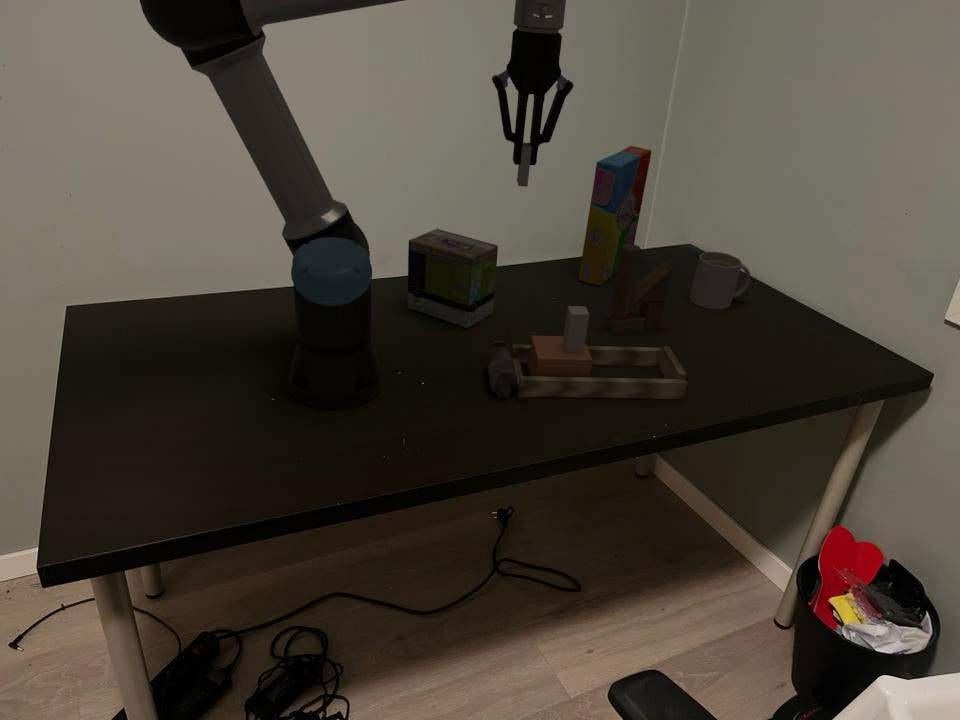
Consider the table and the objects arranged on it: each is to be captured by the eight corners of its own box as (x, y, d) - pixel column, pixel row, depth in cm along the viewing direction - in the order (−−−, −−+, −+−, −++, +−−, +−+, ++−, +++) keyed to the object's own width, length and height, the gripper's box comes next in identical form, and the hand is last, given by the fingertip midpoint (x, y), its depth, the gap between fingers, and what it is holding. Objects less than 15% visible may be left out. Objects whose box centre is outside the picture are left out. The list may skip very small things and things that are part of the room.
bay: (490, 400, 117) (492, 374, 114) (484, 363, 127) (486, 338, 125) (682, 403, 120) (689, 378, 117) (661, 366, 130) (667, 343, 128)
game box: (599, 287, 160) (619, 166, 146) (577, 281, 162) (595, 161, 149) (631, 260, 176) (652, 149, 162) (610, 254, 178) (629, 144, 165)
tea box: (494, 313, 145) (500, 244, 138) (467, 330, 138) (471, 259, 130) (434, 292, 152) (437, 226, 144) (405, 308, 144) (406, 239, 137)
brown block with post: (534, 390, 118) (543, 321, 112) (527, 364, 126) (535, 297, 119) (587, 391, 119) (599, 322, 113) (577, 365, 127) (587, 299, 120)
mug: (684, 302, 156) (694, 259, 151) (697, 288, 163) (707, 247, 158) (733, 316, 151) (745, 273, 146) (744, 301, 159) (756, 259, 154)
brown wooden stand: (659, 333, 142) (678, 248, 133) (610, 337, 139) (626, 251, 130) (650, 324, 145) (668, 241, 136) (602, 328, 142) (617, 243, 133)
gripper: (497, 29, 103) (485, 188, 115) (585, 35, 105) (564, 192, 117) (492, 24, 110) (481, 175, 122) (575, 30, 111) (556, 179, 123)
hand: (522, 183), depth 119 cm, fingers closed
